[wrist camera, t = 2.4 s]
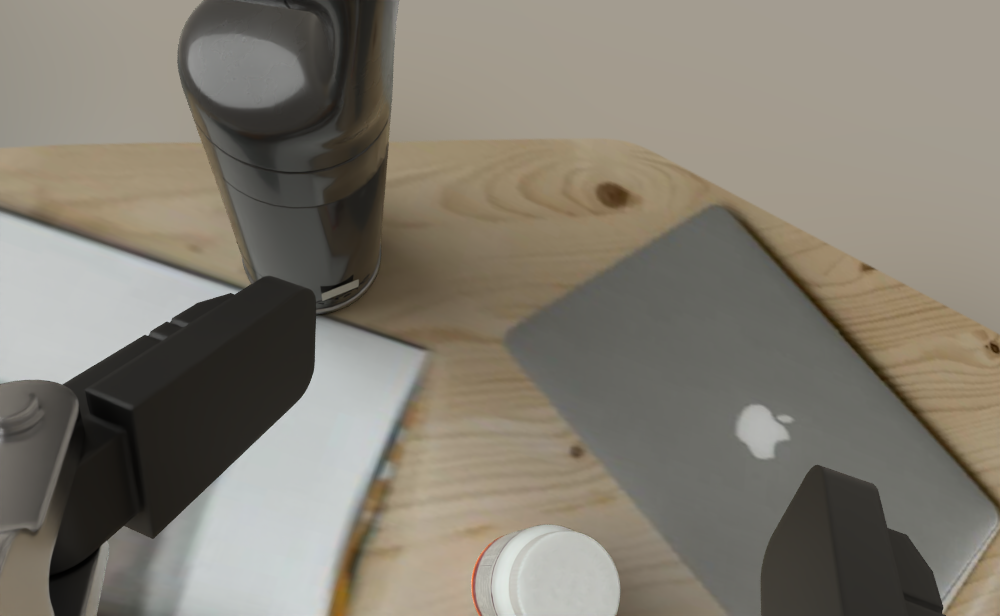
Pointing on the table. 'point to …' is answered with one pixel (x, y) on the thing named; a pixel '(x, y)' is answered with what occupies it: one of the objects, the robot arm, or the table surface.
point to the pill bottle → (545, 575)
